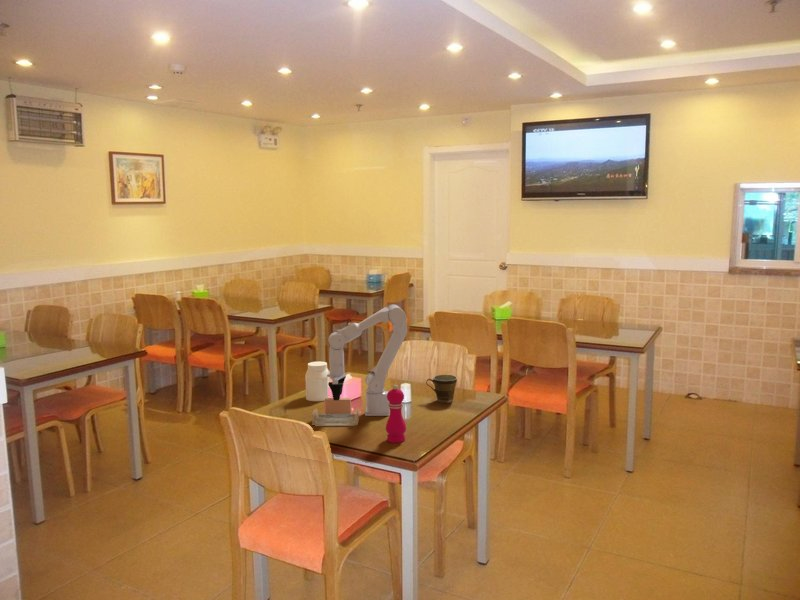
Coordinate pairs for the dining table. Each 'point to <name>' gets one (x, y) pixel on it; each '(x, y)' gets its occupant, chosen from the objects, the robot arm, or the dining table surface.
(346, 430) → the dining table surface
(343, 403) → the door panel
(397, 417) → the pepper mill
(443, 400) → the ceramic cup
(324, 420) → the door track
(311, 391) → the jar
